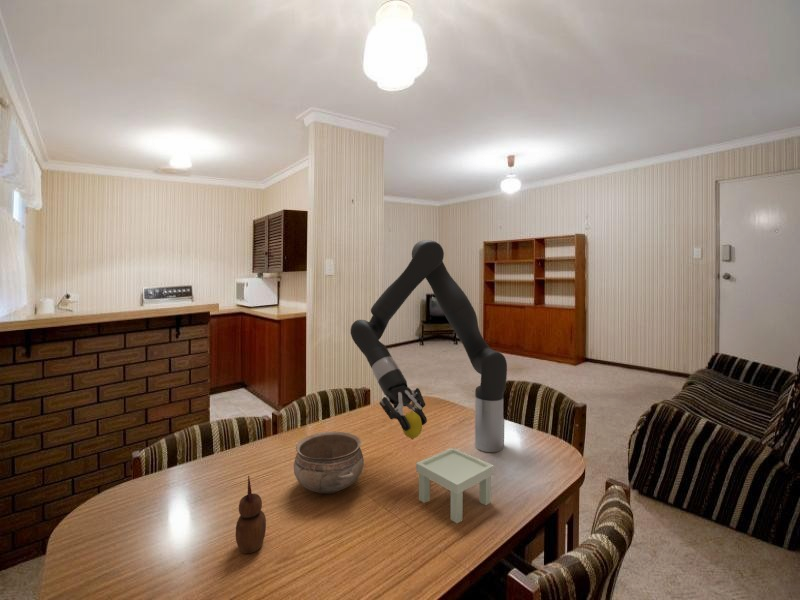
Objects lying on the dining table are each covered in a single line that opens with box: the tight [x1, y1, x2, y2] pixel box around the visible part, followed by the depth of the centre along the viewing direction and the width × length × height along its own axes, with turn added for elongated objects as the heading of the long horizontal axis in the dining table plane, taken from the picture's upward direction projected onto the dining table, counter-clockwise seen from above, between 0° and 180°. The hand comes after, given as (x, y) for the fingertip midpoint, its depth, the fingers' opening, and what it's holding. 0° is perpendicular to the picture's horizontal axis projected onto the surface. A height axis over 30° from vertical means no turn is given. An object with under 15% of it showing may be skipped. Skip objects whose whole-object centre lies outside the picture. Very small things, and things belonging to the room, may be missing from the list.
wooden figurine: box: [235, 475, 267, 554], centre depth 84 cm, size 7×6×15 cm
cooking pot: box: [293, 431, 365, 495], centre depth 108 cm, size 25×19×12 cm
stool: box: [415, 447, 495, 524], centre depth 101 cm, size 14×14×10 cm
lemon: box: [402, 410, 423, 440], centre depth 110 cm, size 6×6×8 cm
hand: (416, 426), depth 109 cm, fingers closed on lemon, 5 cm apart
